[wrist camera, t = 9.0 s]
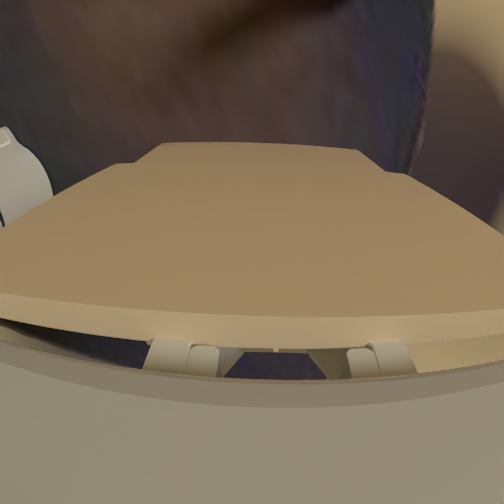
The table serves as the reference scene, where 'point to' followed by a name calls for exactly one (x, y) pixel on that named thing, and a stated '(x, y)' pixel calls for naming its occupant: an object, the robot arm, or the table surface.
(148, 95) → the table surface
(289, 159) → the carton
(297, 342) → the carton lid
